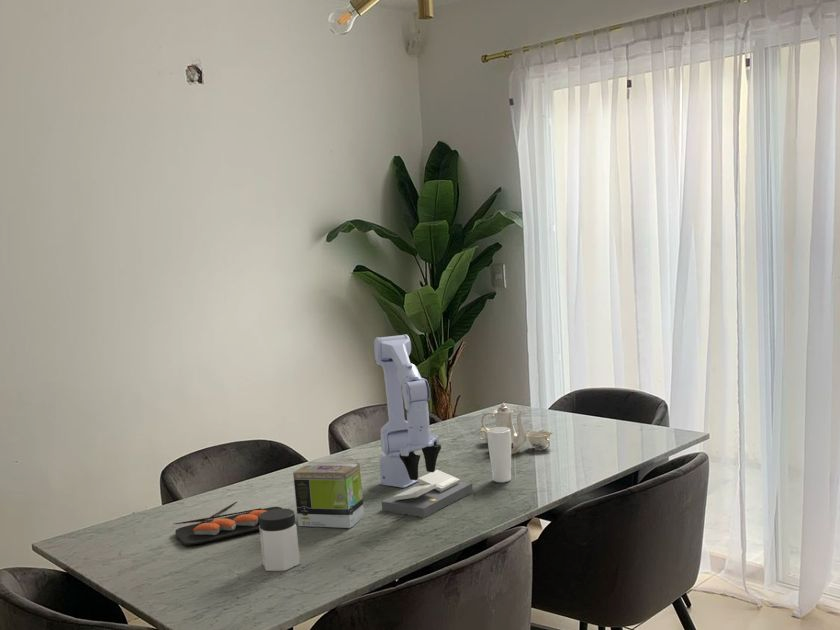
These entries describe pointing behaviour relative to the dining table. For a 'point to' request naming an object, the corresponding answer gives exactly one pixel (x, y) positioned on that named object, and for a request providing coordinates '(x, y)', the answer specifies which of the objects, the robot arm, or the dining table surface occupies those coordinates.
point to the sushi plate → (220, 526)
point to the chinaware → (517, 440)
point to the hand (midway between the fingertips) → (422, 475)
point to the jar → (278, 539)
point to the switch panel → (427, 500)
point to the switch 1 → (415, 492)
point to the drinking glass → (500, 453)
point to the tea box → (329, 495)
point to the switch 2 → (439, 480)
